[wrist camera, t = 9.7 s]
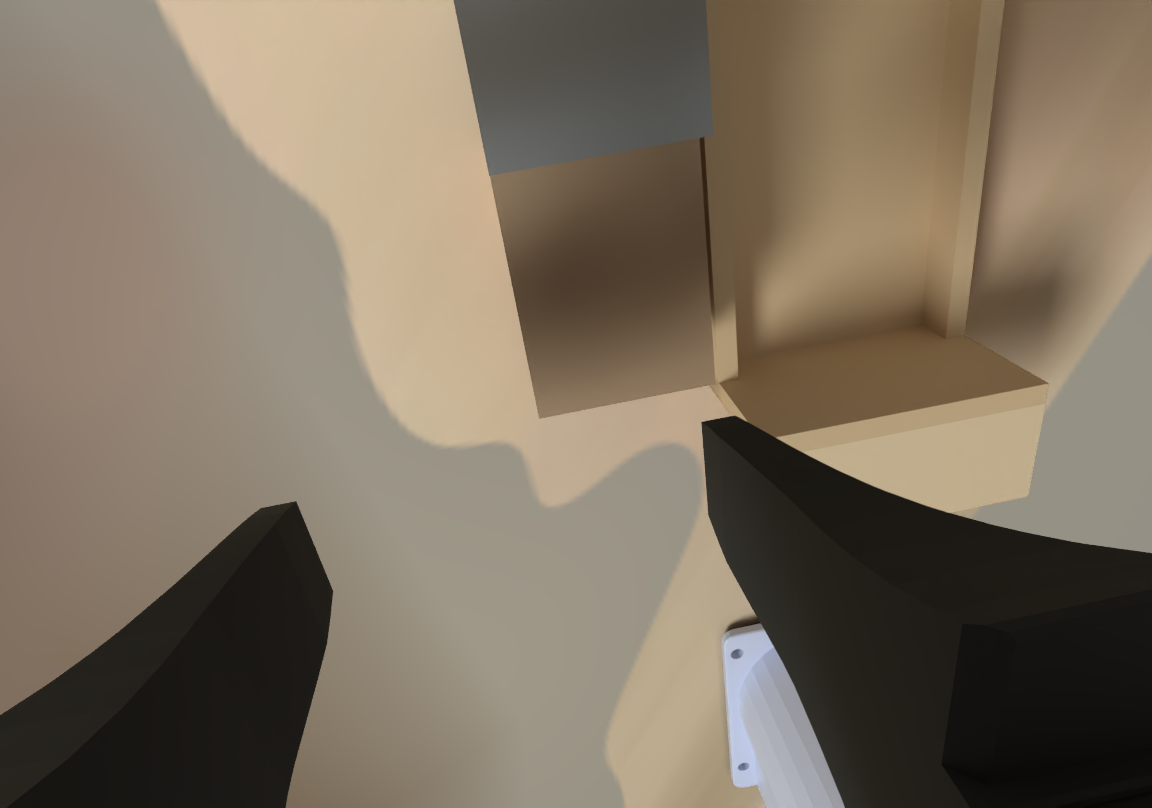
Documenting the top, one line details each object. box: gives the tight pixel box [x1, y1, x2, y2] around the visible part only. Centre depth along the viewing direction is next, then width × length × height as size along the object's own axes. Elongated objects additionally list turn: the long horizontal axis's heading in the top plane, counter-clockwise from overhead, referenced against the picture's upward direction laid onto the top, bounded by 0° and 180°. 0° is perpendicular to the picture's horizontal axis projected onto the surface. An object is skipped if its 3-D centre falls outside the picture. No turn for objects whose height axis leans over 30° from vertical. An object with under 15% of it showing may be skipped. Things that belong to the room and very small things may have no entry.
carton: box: [700, 0, 1049, 513], centre depth 17 cm, size 20×8×5 cm, turn 8°
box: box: [454, 0, 716, 419], centre depth 16 cm, size 10×4×6 cm, turn 9°
